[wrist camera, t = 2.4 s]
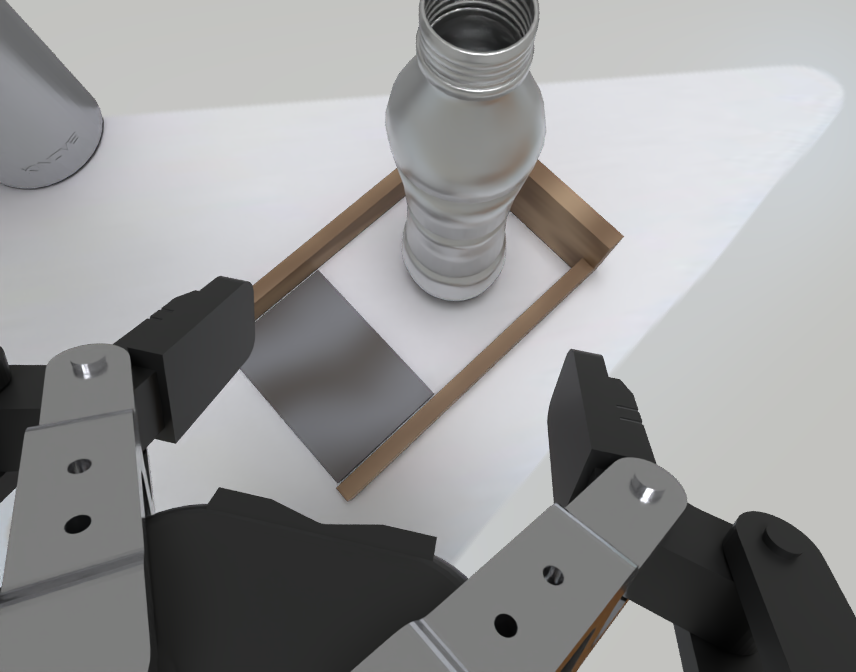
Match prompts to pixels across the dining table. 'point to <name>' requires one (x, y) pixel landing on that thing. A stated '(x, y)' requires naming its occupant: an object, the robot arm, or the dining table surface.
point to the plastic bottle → (465, 138)
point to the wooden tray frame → (368, 353)
